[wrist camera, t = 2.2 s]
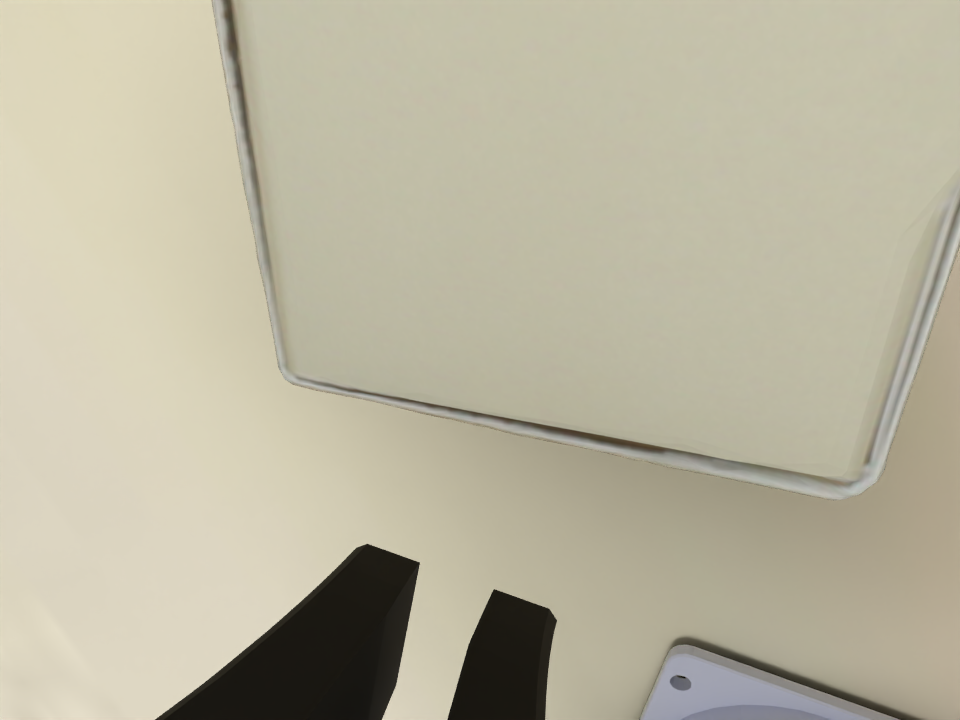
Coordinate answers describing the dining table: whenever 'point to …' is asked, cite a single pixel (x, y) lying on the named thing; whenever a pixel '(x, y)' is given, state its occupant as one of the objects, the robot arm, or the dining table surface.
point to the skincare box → (609, 216)
